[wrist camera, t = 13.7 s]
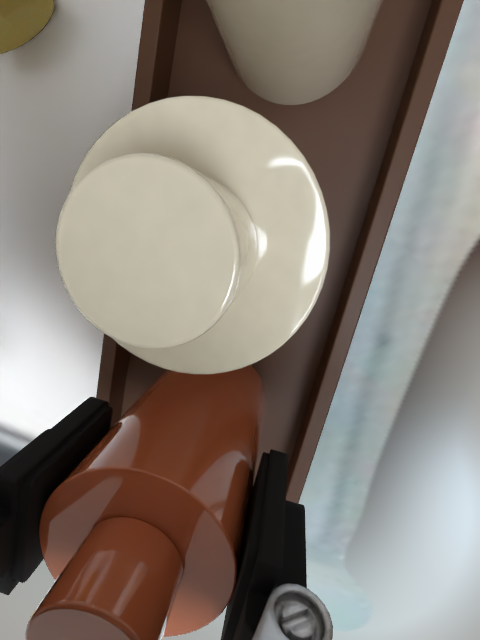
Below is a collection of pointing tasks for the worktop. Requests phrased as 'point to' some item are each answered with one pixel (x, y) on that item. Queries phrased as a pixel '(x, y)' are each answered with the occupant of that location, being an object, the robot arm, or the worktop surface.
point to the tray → (335, 182)
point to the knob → (22, 21)
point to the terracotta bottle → (154, 514)
